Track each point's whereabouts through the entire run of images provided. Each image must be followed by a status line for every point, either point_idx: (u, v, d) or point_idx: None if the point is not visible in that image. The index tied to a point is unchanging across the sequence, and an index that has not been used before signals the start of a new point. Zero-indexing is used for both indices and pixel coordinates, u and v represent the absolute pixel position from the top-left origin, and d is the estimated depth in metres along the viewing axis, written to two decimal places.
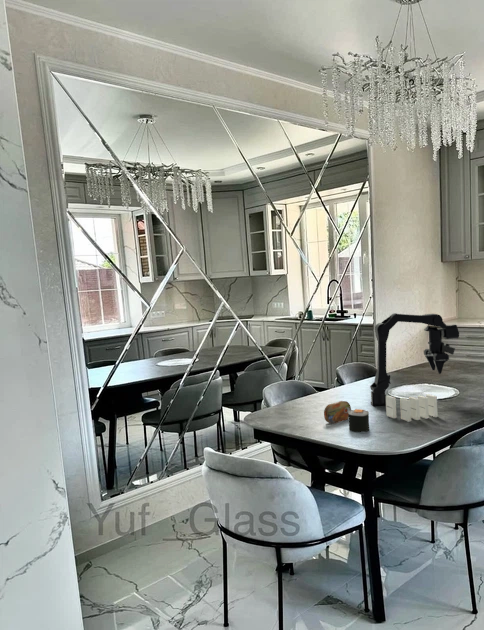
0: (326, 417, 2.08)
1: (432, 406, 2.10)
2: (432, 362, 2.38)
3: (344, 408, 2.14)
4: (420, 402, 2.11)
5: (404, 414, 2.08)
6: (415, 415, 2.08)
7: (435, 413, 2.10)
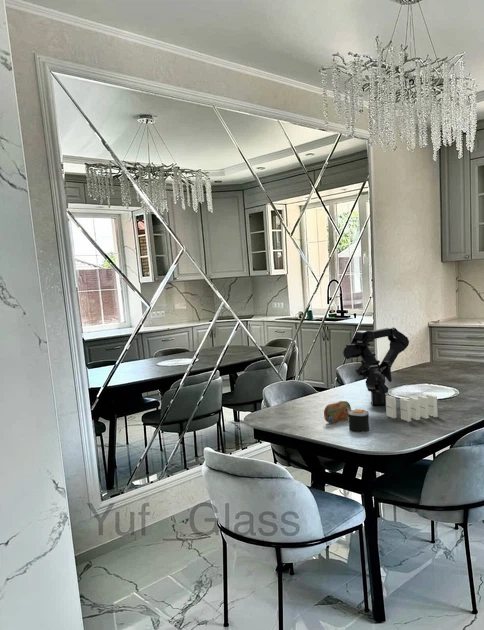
0: (326, 417, 2.08)
1: (432, 406, 2.10)
2: None
3: (344, 408, 2.14)
4: (420, 402, 2.11)
5: (404, 414, 2.08)
6: (415, 415, 2.08)
7: (435, 413, 2.10)
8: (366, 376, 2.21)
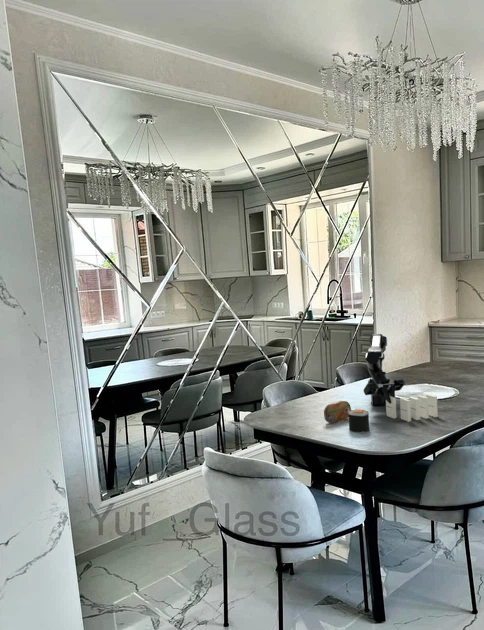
0: (326, 417, 2.08)
1: (432, 406, 2.10)
2: None
3: (344, 408, 2.14)
4: (420, 402, 2.11)
5: (404, 414, 2.08)
6: (415, 415, 2.08)
7: (435, 413, 2.10)
8: (380, 395, 2.16)
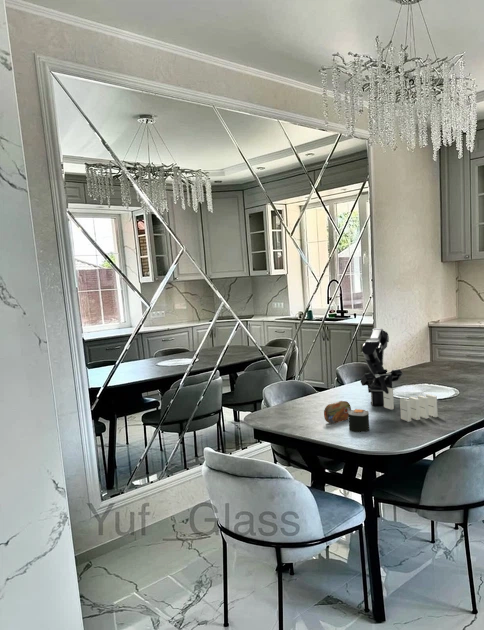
0: (326, 417, 2.08)
1: (432, 406, 2.10)
2: None
3: (344, 408, 2.14)
4: (420, 402, 2.11)
5: (404, 414, 2.08)
6: (415, 415, 2.08)
7: (435, 413, 2.10)
8: (377, 385, 2.14)
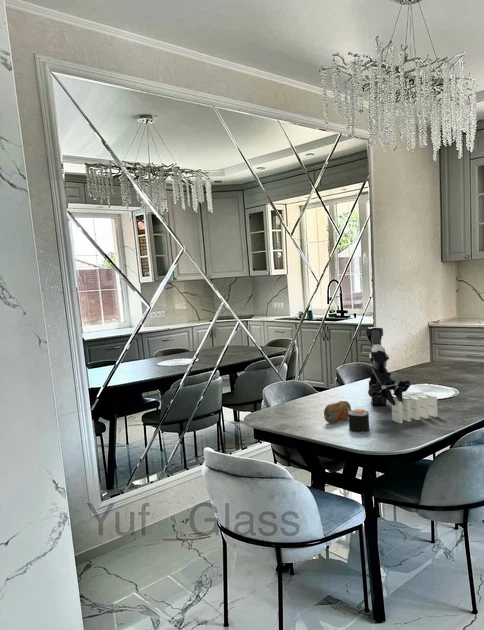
0: (326, 417, 2.08)
1: (432, 406, 2.10)
2: None
3: (344, 408, 2.14)
4: (420, 402, 2.11)
5: (404, 414, 2.08)
6: (415, 415, 2.08)
7: (435, 413, 2.10)
8: (384, 397, 2.08)
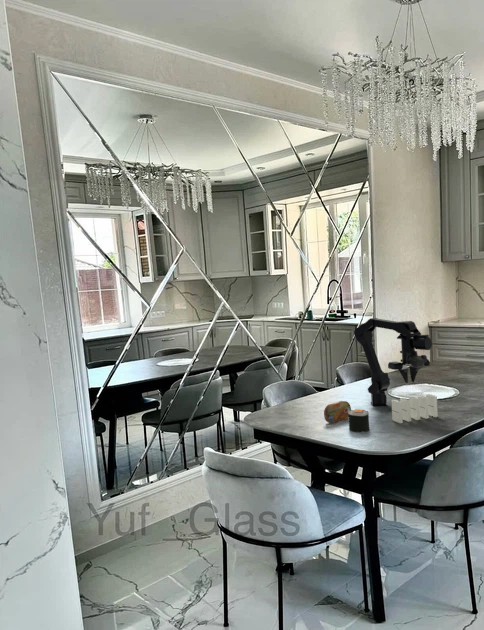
0: (326, 417, 2.08)
1: (432, 406, 2.10)
2: (412, 373, 2.22)
3: (344, 408, 2.14)
4: (420, 402, 2.11)
5: (404, 414, 2.08)
6: (415, 415, 2.08)
7: (435, 413, 2.10)
8: (417, 370, 2.21)
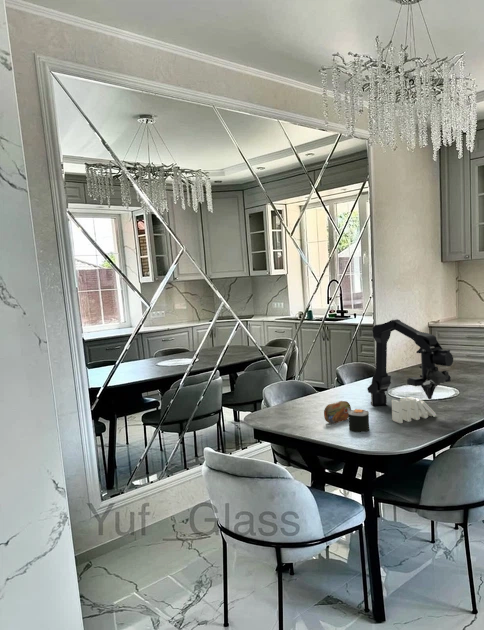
0: (326, 417, 2.08)
1: (426, 410, 2.09)
2: None
3: (344, 408, 2.14)
4: None
5: (404, 414, 2.08)
6: (414, 415, 2.08)
7: (433, 413, 2.09)
8: None
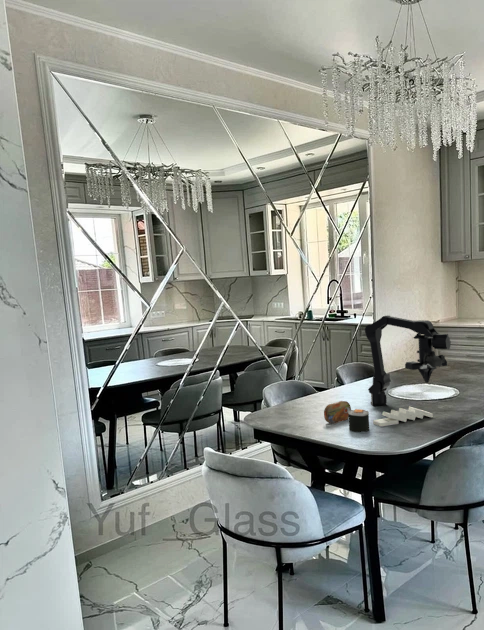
0: (326, 417, 2.08)
1: (422, 414, 2.09)
2: None
3: (344, 408, 2.14)
4: None
5: None
6: None
7: (429, 415, 2.09)
8: None
